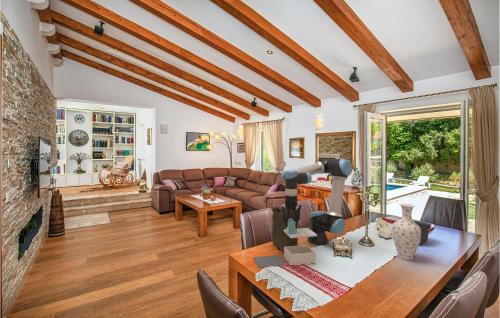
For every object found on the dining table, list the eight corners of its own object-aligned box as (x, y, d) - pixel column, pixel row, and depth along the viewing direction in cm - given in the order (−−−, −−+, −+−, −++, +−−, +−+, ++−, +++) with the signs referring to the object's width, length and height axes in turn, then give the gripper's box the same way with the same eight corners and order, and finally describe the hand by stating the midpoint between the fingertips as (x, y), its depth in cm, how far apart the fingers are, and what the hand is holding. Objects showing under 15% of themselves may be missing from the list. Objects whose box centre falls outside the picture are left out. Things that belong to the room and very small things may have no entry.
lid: (307, 229, 162) (307, 216, 161) (316, 236, 149) (317, 221, 149) (283, 231, 158) (283, 217, 158) (290, 238, 146) (290, 223, 145)
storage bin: (413, 236, 199) (413, 219, 198) (435, 242, 186) (436, 224, 185) (400, 242, 187) (401, 223, 186) (423, 248, 174) (424, 229, 174)
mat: (279, 255, 161) (279, 254, 161) (286, 265, 147) (286, 264, 147) (253, 257, 157) (253, 257, 157) (258, 267, 144) (258, 267, 144)
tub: (306, 255, 162) (306, 244, 161) (315, 263, 150) (315, 252, 150) (283, 257, 159) (284, 246, 158) (290, 265, 147) (290, 254, 147)
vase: (395, 250, 171) (396, 201, 170) (422, 257, 159) (424, 205, 158) (388, 257, 160) (389, 204, 158) (417, 265, 148) (419, 209, 147)
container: (298, 253, 165) (299, 209, 164) (286, 255, 161) (286, 211, 160) (282, 241, 186) (282, 202, 185) (270, 243, 182) (271, 203, 181)
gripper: (301, 193, 157) (300, 229, 158) (276, 194, 154) (276, 230, 155) (306, 195, 150) (305, 232, 151) (280, 196, 146) (280, 234, 147)
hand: (290, 231), depth 153 cm, fingers closed on lid, 3 cm apart
